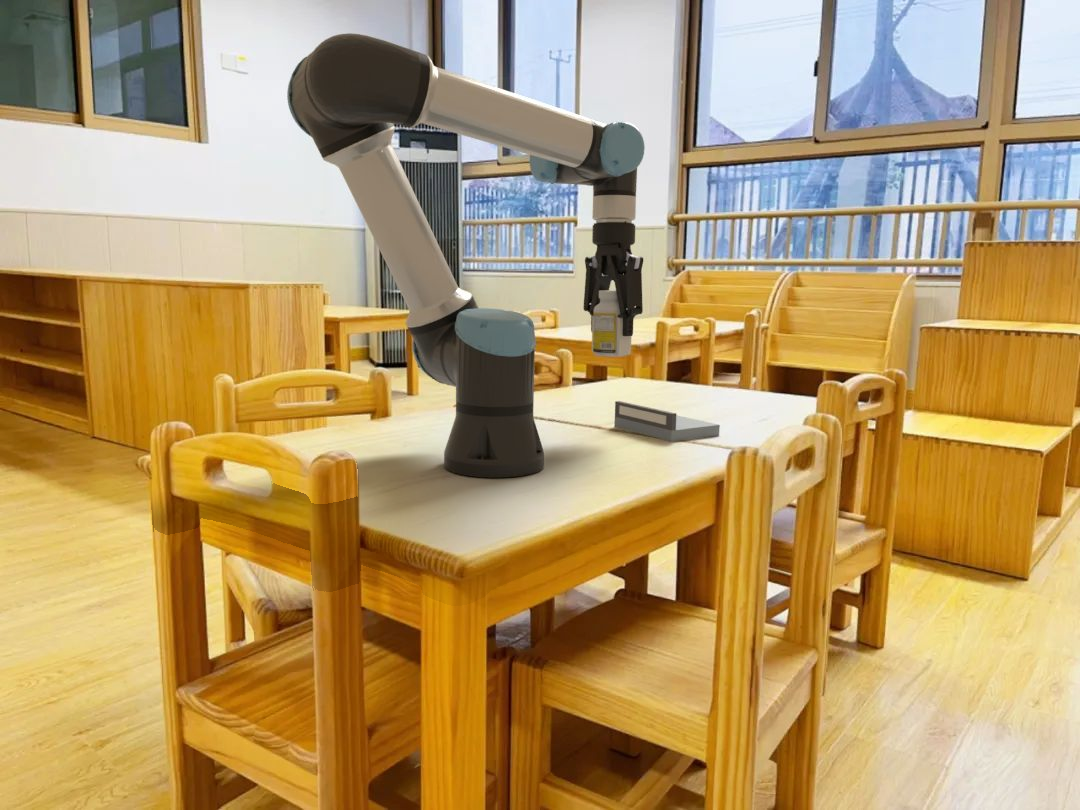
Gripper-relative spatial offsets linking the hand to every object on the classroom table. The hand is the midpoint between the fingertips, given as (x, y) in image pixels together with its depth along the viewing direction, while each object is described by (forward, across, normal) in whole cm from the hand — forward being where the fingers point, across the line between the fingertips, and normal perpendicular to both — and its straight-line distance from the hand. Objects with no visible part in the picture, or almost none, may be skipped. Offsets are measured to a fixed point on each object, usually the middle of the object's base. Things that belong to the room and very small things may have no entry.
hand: (611, 352), depth 146 cm
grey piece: (+15, -2, -12) cm, 20 cm away
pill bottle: (+1, 0, 0) cm, 1 cm away
